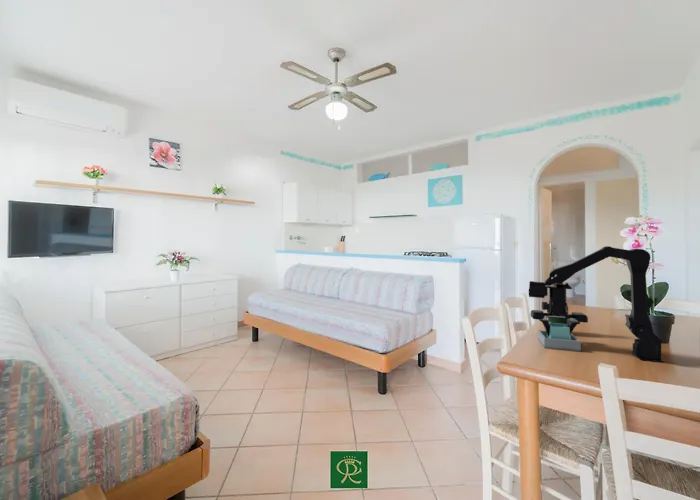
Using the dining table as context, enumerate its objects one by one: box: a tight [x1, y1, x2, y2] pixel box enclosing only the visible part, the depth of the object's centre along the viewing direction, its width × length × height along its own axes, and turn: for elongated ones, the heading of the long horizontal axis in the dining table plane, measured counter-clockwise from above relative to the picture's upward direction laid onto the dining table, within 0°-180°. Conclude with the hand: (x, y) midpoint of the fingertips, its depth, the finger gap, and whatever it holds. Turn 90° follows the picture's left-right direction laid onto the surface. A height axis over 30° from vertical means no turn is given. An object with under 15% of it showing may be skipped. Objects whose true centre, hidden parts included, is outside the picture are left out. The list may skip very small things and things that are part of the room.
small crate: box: [547, 323, 570, 340], centre depth 123 cm, size 6×6×6 cm
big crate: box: [537, 329, 582, 352], centre depth 123 cm, size 12×12×4 cm
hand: (557, 336), depth 123 cm, fingers closed on small crate, 6 cm apart
